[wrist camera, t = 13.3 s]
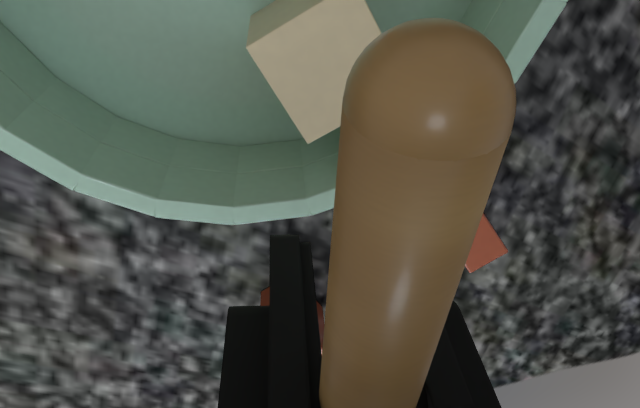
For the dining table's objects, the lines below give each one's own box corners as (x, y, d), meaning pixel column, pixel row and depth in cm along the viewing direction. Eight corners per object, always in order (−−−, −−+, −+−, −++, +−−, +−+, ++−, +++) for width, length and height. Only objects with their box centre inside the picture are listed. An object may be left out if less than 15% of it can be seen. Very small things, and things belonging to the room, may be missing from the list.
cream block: (340, -40, 21) (355, -20, 17) (386, 52, 23) (409, 88, 19) (250, 15, 22) (245, 47, 18) (301, 100, 23) (307, 144, 20)
